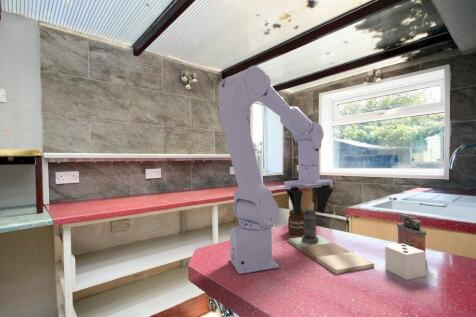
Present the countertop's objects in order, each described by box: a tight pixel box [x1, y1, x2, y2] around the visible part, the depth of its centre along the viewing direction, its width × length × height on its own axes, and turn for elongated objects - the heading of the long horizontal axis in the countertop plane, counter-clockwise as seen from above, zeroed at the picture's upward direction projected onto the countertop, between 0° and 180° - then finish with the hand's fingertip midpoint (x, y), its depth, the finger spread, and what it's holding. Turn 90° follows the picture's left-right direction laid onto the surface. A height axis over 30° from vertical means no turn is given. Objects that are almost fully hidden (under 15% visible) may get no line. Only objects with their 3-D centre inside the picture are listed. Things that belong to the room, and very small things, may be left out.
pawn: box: [301, 208, 318, 244], centre depth 70 cm, size 4×4×9 cm
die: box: [384, 243, 427, 281], centre depth 52 cm, size 5×5×5 cm
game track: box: [287, 234, 375, 275], centre depth 64 cm, size 10×21×1 cm, turn 16°
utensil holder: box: [287, 195, 309, 236], centre depth 80 cm, size 6×6×12 cm
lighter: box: [396, 213, 427, 266], centre depth 59 cm, size 8×3×10 cm, turn 179°
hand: (309, 213), depth 70 cm, fingers open, 7 cm apart
